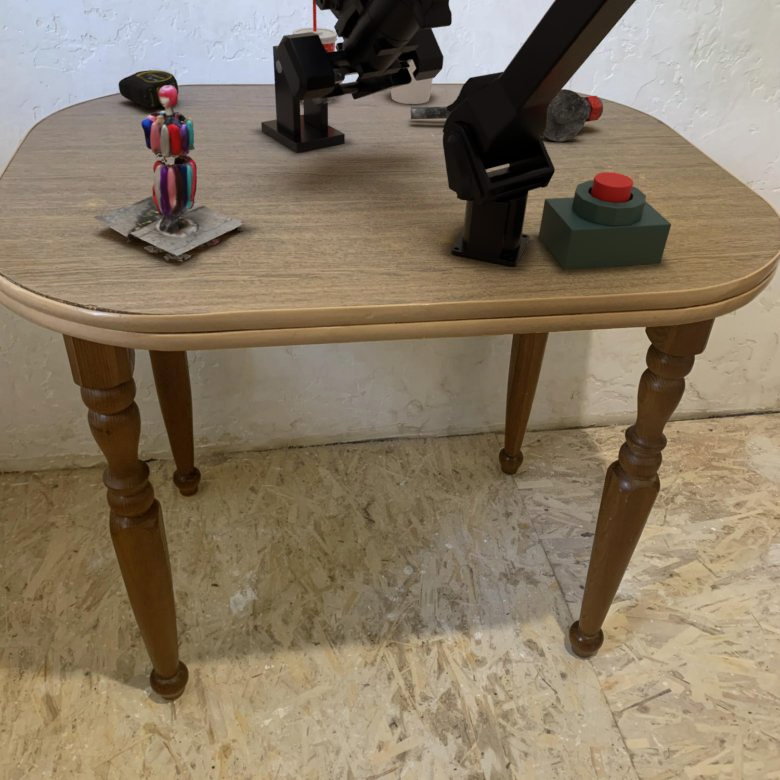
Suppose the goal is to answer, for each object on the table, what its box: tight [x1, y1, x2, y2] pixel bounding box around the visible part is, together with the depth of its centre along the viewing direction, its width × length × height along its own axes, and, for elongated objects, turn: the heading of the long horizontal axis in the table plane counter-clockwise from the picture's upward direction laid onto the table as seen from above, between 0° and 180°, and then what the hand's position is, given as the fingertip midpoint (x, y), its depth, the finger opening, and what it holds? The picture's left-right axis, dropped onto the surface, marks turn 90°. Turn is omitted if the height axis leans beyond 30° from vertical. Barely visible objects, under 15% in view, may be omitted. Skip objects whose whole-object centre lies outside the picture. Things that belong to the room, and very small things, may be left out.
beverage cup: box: [292, 0, 338, 104], centre depth 107 cm, size 6×6×14 cm
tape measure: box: [118, 69, 180, 109], centre depth 106 cm, size 7×7×4 cm
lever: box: [340, 80, 362, 96], centre depth 91 cm, size 11×5×2 cm, turn 36°
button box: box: [538, 179, 672, 271], centre depth 75 cm, size 10×7×6 cm
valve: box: [410, 88, 604, 142], centre depth 106 cm, size 6×26×15 cm
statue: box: [93, 85, 246, 262], centre depth 72 cm, size 11×9×15 cm
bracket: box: [260, 45, 346, 154], centre depth 96 cm, size 9×7×11 cm
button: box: [591, 171, 634, 203], centre depth 73 cm, size 4×4×2 cm
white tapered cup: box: [390, 60, 434, 105], centre depth 112 cm, size 7×7×7 cm
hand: (334, 98), depth 90 cm, fingers closed on lever, 5 cm apart
